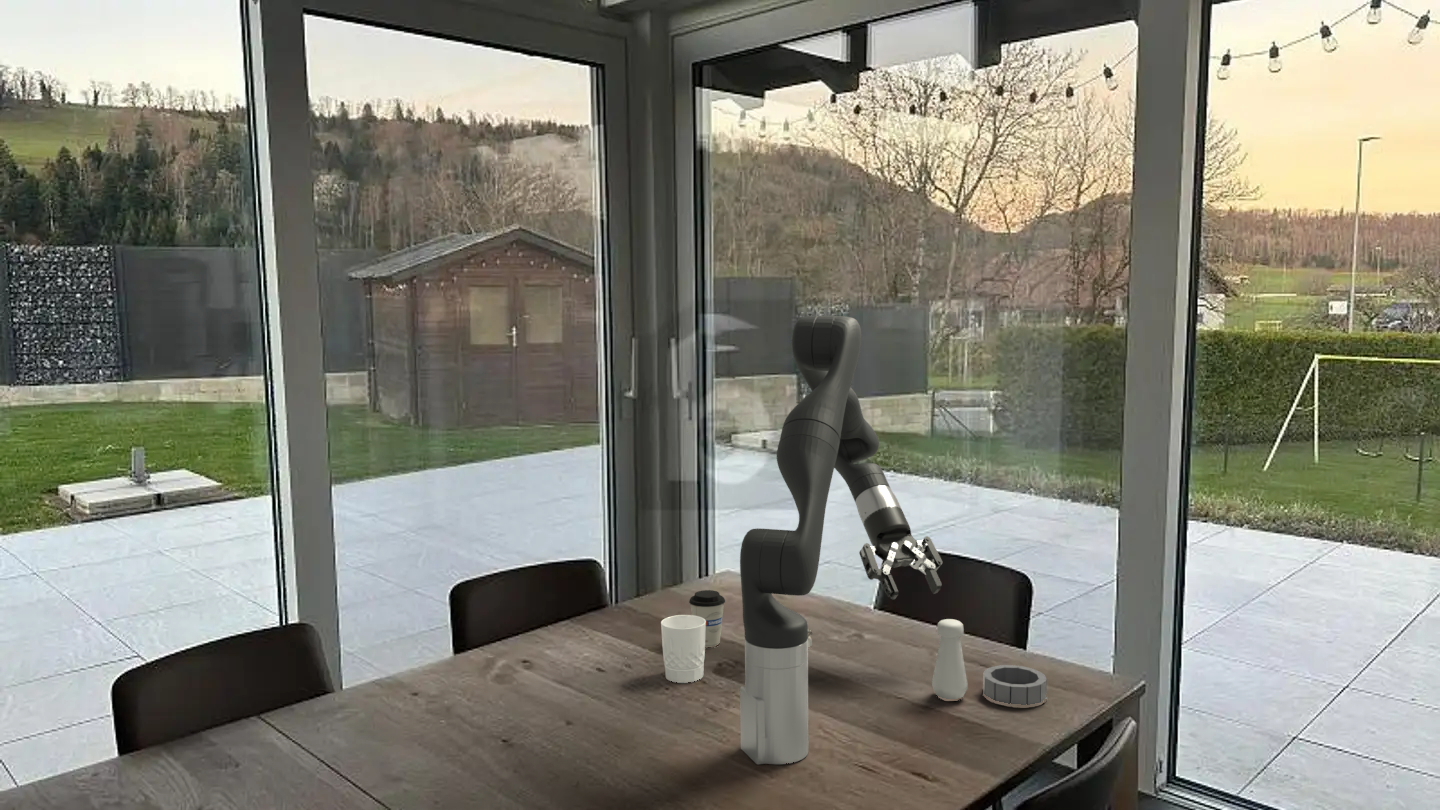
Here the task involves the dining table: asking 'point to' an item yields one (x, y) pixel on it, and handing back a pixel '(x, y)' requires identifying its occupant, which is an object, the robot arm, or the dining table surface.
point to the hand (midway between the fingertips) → (916, 594)
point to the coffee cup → (709, 613)
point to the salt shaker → (950, 661)
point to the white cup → (683, 647)
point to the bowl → (1014, 684)
